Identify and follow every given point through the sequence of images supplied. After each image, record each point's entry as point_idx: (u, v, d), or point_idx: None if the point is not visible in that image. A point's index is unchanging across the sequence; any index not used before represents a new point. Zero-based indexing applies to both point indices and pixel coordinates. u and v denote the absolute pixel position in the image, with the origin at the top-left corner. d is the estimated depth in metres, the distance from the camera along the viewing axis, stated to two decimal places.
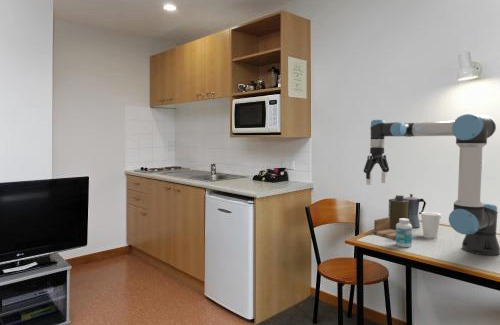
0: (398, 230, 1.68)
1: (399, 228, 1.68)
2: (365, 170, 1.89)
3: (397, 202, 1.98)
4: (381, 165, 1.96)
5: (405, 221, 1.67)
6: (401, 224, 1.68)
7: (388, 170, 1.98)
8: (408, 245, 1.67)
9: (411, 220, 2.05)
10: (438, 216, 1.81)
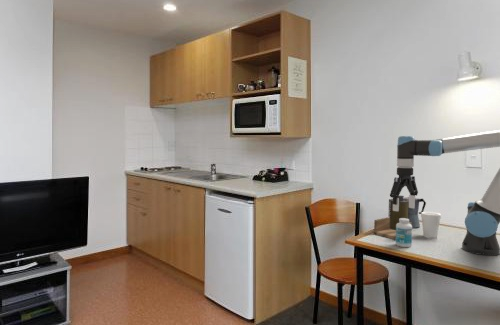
0: (398, 230, 1.68)
1: (399, 228, 1.68)
2: (392, 194, 1.63)
3: None
4: (409, 188, 1.71)
5: (405, 221, 1.67)
6: (401, 224, 1.68)
7: (417, 193, 1.73)
8: (408, 245, 1.67)
9: (411, 220, 2.05)
10: (438, 216, 1.81)
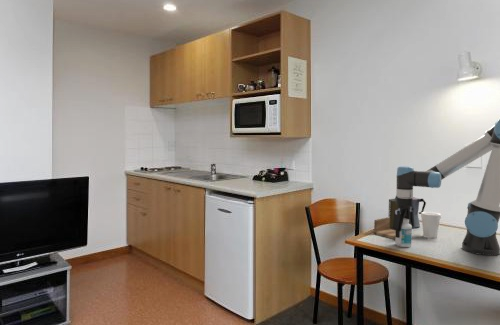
0: None
1: None
2: (394, 228, 1.66)
3: None
4: None
5: (405, 221, 1.67)
6: None
7: (413, 226, 1.72)
8: (408, 245, 1.67)
9: None
10: (438, 216, 1.81)
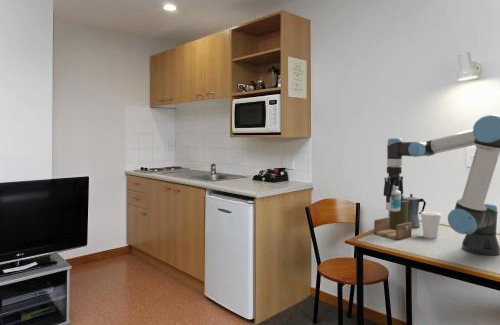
0: None
1: None
2: (385, 194, 1.83)
3: None
4: None
5: (394, 187, 1.84)
6: None
7: (402, 193, 1.90)
8: (397, 209, 1.84)
9: (411, 220, 2.05)
10: (438, 216, 1.81)
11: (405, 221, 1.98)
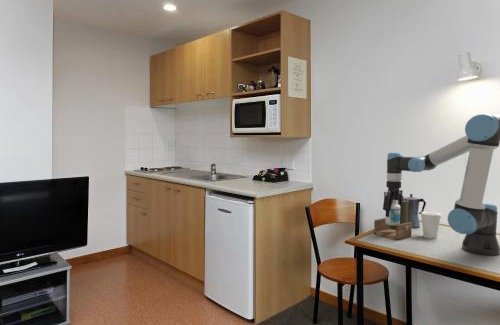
0: None
1: None
2: (384, 208, 1.84)
3: None
4: None
5: (394, 202, 1.85)
6: None
7: (401, 207, 1.90)
8: (396, 223, 1.85)
9: (411, 220, 2.05)
10: (438, 216, 1.81)
11: (405, 221, 1.98)
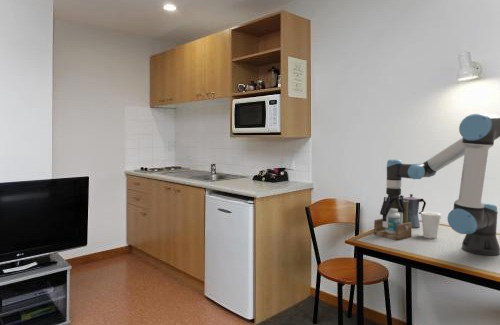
0: None
1: (388, 216, 1.86)
2: (382, 212, 1.82)
3: None
4: (397, 206, 1.90)
5: (394, 210, 1.85)
6: (390, 213, 1.86)
7: (404, 210, 1.92)
8: None
9: (411, 220, 2.05)
10: (438, 216, 1.81)
11: (405, 221, 1.98)
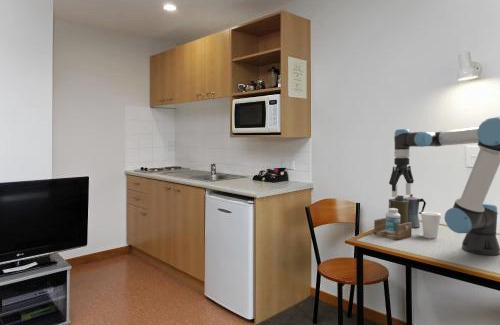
0: (387, 219, 1.86)
1: (388, 216, 1.86)
2: (391, 182, 1.80)
3: (397, 202, 1.98)
4: (406, 176, 1.88)
5: (394, 210, 1.85)
6: (390, 213, 1.86)
7: (413, 181, 1.91)
8: None
9: (411, 220, 2.05)
10: (438, 216, 1.81)
11: (405, 221, 1.98)
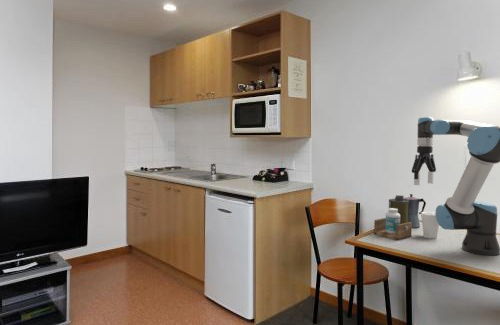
0: (387, 219, 1.86)
1: (388, 216, 1.86)
2: (413, 170, 1.81)
3: (397, 202, 1.98)
4: (428, 165, 1.88)
5: (394, 210, 1.85)
6: (390, 213, 1.86)
7: None
8: None
9: (411, 220, 2.05)
10: None
11: (405, 221, 1.98)
